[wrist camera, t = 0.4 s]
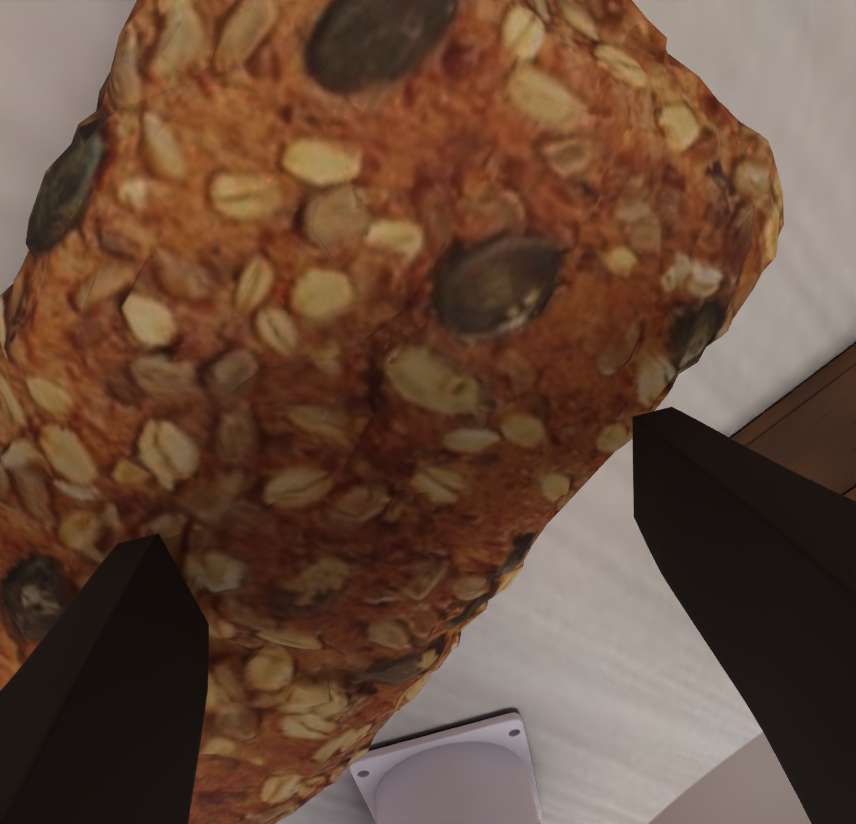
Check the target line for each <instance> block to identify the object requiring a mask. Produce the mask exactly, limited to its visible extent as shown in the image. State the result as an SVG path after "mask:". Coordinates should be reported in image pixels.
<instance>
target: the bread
mask: <svg viewBox="0 0 856 824" xmlns="http://www.w3.org/2000/svg"><path fill="white" fill-rule="evenodd" d="M666 41H667V38H666V37H665V36H664V35H663V34H662V33H661V32H660V31H659V30H658V29H657V28H656V27H655V26H654V25H653V24H652V23H651V22H650V21H649V20H648V19H647V18H646V17H645V16H644V15H643V13H642V12H641V11H640V10H639V9H638V7H637V6H636V5H635V4H634V2H633V1H632V0H137V2H136V4H135V6H134V8H133V10H132V12H131V13H130V15H129V17H128V19H127V21H126V23H125V25H124V27H123V29H122V31H121V33H120V36H119V40H118V44H117V48H116V52H115V56H114V60H113V64H112V68H111V71H110V73H109V75H108V77H107V79H106V81H105V83H104V84H103V86H102V88H101V90H100V92H99V98H98V104H97V110H96V112H95V113H93V114H92V115H91V116H89V117H88V118H86V119H85V120H84V121H82V122H81V123H80V124H78V127H77V129H76V132H75V135H74V138H73V141H72V144H71V145H70V146H69V147H68V148H67V149H66V150H65V151H64V153H63V154H62V155H61V156H60V157H59V158H58V159H57V160H56V161H55V162H54V163H53V164H52V165H51V166H50V167H49V168H48V170H47V171H46V173H45V176H44V178H43V181H42V184H41V187H40V190H39V192H38V195H37V198H36V201H35V204H34V206H33V209H32V212H31V215H30V218H29V223H28V231H27V238H26V244H27V246H28V249H29V252H28V254H27V256H26V258H25V261H24V263H23V265H22V267H21V269H20V271H19V273H18V275H17V277H16V278H15V279H14V283H13V284H12V285H11V286H10V287H9V288H8V289H7V290H6V291H5V292H4V293H3V294H1V295H0V691H1V690H2V689H3V687H4V686H5V685H6V684H7V683H8V681H9V680H10V679H11V678H12V677H13V675H14V674H15V673H16V672H17V671H18V670H19V668H20V667H21V666H22V665H23V663H24V662H25V661H26V659H27V658H28V657H29V656H30V654H31V653H32V652H33V651H34V649H35V648H36V647H37V645H38V644H39V643H40V642H41V640H42V639H43V638H44V637H45V635H46V634H47V633H48V631H49V630H50V629H51V628H52V626H53V625H54V624H55V622H56V621H57V620H58V619H59V617H60V616H61V615H62V614H63V612H64V611H65V610H66V608H67V607H68V606H69V604H70V603H71V602H72V600H73V599H74V598H75V597H76V595H77V594H78V593H79V591H80V590H81V589H82V587H83V586H84V585H85V584H86V582H87V581H88V580H89V578H90V577H91V576H92V574H93V573H94V572H95V571H96V569H97V568H98V567H99V566H100V564H101V563H102V562H103V560H104V559H105V558H106V557H107V556H108V554H109V553H110V552H111V551H112V550H113V548H114V547H115V546H116V545H117V544H118V543H122V542H126V541H130V540H134V539H138V538H142V537H146V536H150V535H154V534H158V533H159V535H160V537H161V538H162V540H163V542H164V544H165V546H166V547H167V549H168V551H169V553H170V555H171V556H172V558H173V560H174V562H175V564H176V566H177V567H178V569H179V571H180V573H181V575H182V576H183V578H184V580H185V582H186V584H187V585H188V587H189V589H190V591H191V593H192V595H193V596H194V598H195V600H196V602H197V604H198V605H199V607H200V609H201V611H202V613H203V614H204V616H205V618H206V620H207V622H208V623H209V671H208V693H207V700H206V708H205V715H204V722H203V729H202V736H201V742H200V749H199V756H198V762H197V769H196V775H195V782H194V789H193V795H192V802H191V808H190V815H189V822H188V824H275V823H277V822H278V821H280V820H281V819H283V818H285V817H287V816H288V815H290V814H292V813H293V812H295V811H296V810H297V809H298V808H300V807H301V806H302V805H304V804H305V803H306V802H307V801H309V800H310V799H311V798H313V797H314V796H315V795H317V794H318V793H319V792H320V791H322V790H323V789H324V788H325V787H326V786H328V785H330V784H333V783H335V782H336V780H337V779H338V777H339V776H340V774H341V773H342V771H343V770H344V769H345V768H347V767H348V766H349V765H350V764H351V763H352V762H353V761H354V760H356V759H357V758H359V757H360V756H362V755H363V754H365V753H366V752H368V750H369V748H370V745H371V743H372V740H373V738H374V736H375V734H376V733H377V731H378V730H379V729H380V728H381V727H382V726H383V725H384V724H385V723H386V722H387V720H388V719H389V718H390V717H391V716H392V715H393V714H394V712H395V711H398V710H400V708H401V707H402V706H403V705H405V704H406V703H407V702H409V701H410V700H411V699H413V698H414V696H415V695H416V694H417V693H418V692H419V691H420V689H421V688H422V687H423V685H424V684H425V683H426V681H427V680H428V677H429V674H430V673H431V672H433V671H435V670H437V669H438V668H439V667H440V666H441V665H442V663H443V662H444V660H445V659H446V658H447V656H448V655H449V653H450V652H451V650H452V649H454V648H456V647H458V646H459V641H460V636H461V630H462V629H464V628H465V627H466V626H467V625H468V624H469V623H470V622H471V621H472V620H473V619H474V618H475V617H477V616H478V615H479V614H480V613H482V612H483V611H484V610H485V609H486V607H487V603H488V600H489V599H491V598H492V597H493V596H495V595H496V594H498V593H499V592H501V591H502V590H504V589H505V588H507V587H508V586H510V584H511V583H512V582H513V580H514V579H515V577H516V576H517V574H518V573H519V572H520V570H521V569H522V567H523V562H524V559H525V557H526V555H527V554H528V552H529V550H530V548H531V546H532V544H533V543H534V542H535V540H536V539H537V537H538V536H539V534H540V533H541V532H542V530H543V529H544V527H545V526H546V525H547V523H548V522H549V521H550V520H551V519H552V518H553V517H554V516H555V515H556V514H557V513H558V512H559V511H560V510H561V509H562V508H563V506H564V505H565V504H566V503H567V502H568V501H569V500H570V499H571V498H572V497H573V496H574V495H575V494H576V493H577V491H578V490H579V489H580V488H581V487H582V486H583V485H584V484H585V483H586V482H587V481H588V480H589V479H590V478H591V476H592V475H593V474H594V473H595V472H596V471H597V470H598V469H599V468H600V467H601V466H602V465H603V464H604V463H605V462H606V461H607V460H608V458H609V457H610V456H611V455H612V454H613V453H614V452H615V451H616V450H618V449H619V448H621V447H622V446H624V445H625V444H626V443H627V442H628V441H630V440H631V439H632V438H633V429H632V417H633V416H637V415H641V414H645V413H649V412H653V411H655V410H656V408H657V407H658V406H659V405H660V403H661V402H662V401H663V399H664V398H665V397H666V396H667V394H668V393H669V391H670V390H671V388H672V387H673V384H674V382H675V380H676V378H677V376H678V374H679V373H681V372H683V371H684V370H686V369H687V368H689V367H691V366H692V365H694V364H695V363H697V362H698V361H699V359H700V357H701V355H702V353H703V351H704V350H705V348H706V346H708V345H709V344H711V343H712V342H714V341H716V340H717V339H719V338H720V337H721V336H722V335H723V334H725V333H726V332H727V331H728V329H729V327H730V324H731V322H732V320H733V318H734V317H735V315H736V314H737V312H738V311H739V309H740V308H741V306H742V305H743V303H744V302H745V300H746V299H747V297H748V296H749V294H750V293H751V292H752V290H753V289H754V287H755V285H756V283H757V281H758V279H759V277H760V275H761V274H762V272H763V270H764V269H765V268H766V267H767V266H768V265H769V264H770V263H771V261H772V260H773V259H774V258H775V257H776V252H777V239H778V236H779V233H780V231H781V229H782V227H783V225H784V219H783V192H782V188H781V184H780V180H779V176H778V172H777V168H776V164H775V160H774V157H773V153H772V150H771V148H770V145H769V142H768V140H766V139H765V138H764V137H763V136H761V135H760V134H759V133H757V132H755V131H754V130H752V129H750V128H749V127H747V126H745V125H744V124H742V123H741V122H740V121H739V120H737V119H736V118H735V117H734V116H733V115H732V114H731V113H730V112H729V110H728V109H727V108H726V107H725V106H724V105H723V104H721V103H720V102H719V101H718V100H717V99H716V98H715V96H714V95H713V94H712V92H711V91H710V90H709V89H708V87H707V86H706V85H705V84H704V82H703V81H702V80H701V79H700V77H699V76H697V75H696V74H695V73H693V72H692V71H691V70H689V69H688V68H687V67H685V66H684V65H683V64H681V63H680V62H679V61H677V60H676V59H675V58H673V57H672V56H671V55H669V54H668V53H667V51H666Z"/></svg>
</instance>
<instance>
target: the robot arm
mask: <svg viewBox="0 0 856 824" xmlns="http://www.w3.org/2000/svg"><path fill="white" fill-rule="evenodd" d="M632 429H633V489H634V518H635V520H636V522H637V525H638V527H639V529H640V531H641V533H642V535H643V537H644V539H645V541H646V544H647V546H648V548H649V550H650V552H651V554H652V556H653V558H654V560H655V562H656V564H657V566H658V568H659V570H660V572H661V574H662V575H663V577H664V578H665V580H666V582H667V583H668V585H669V586H670V588H671V589H672V591H673V592H674V594H675V596H676V597H677V599H678V600H679V602H680V603H681V605H682V606H683V608H684V609H685V611H686V612H687V614H688V616H689V617H690V619H691V620H692V622H693V623H694V625H695V626H696V628H697V629H698V631H699V632H700V634H701V635H702V637H703V638H704V640H705V641H706V643H707V644H708V646H709V647H710V649H711V650H712V652H713V653H714V655H715V656H716V658H717V660H718V661H719V663H720V664H721V666H722V667H723V669H724V670H725V672H726V673H727V675H728V676H729V678H730V679H731V681H732V682H733V684H734V685H735V687H736V688H737V690H738V691H739V693H740V694H741V696H742V697H743V699H744V700H745V702H746V704H747V705H748V707H749V709H750V710H751V712H752V714H753V715H754V717H755V719H756V720H757V722H758V724H759V725H760V727H761V729H762V730H763V732H764V734H765V736H766V737H767V739H768V741H769V743H770V745H771V747H772V749H773V751H774V753H775V754H776V756H777V758H778V760H779V762H780V764H781V766H782V768H783V769H784V771H785V773H786V775H787V777H788V779H789V781H790V783H791V785H792V786H793V788H794V790H795V792H796V794H797V795H798V798H799V799H800V802H801V803H802V805H803V808H804V809H805V811H806V813H807V815H808V817H809V819H810V821H811V823H812V824H856V501H854V500H852V499H850V498H848V497H845V496H843V495H841V494H839V493H836V492H834V491H832V490H830V489H828V488H826V487H824V486H822V485H820V484H818V483H816V482H814V481H812V480H809V479H807V478H805V477H803V476H801V475H799V474H797V473H795V472H793V471H791V470H790V469H788V468H786V467H784V466H782V465H780V464H778V463H776V462H774V461H772V460H770V459H768V458H766V457H764V456H763V455H761V454H759V453H757V452H755V451H753V450H751V449H749V448H748V447H746V446H744V445H742V444H740V443H738V442H736V441H735V440H733V439H731V438H729V437H727V436H725V435H724V434H722V433H720V432H718V431H716V430H714V429H713V428H711V427H709V426H707V425H705V424H703V423H701V422H700V421H698V420H696V419H694V418H692V417H690V416H688V415H686V414H685V413H683V412H681V411H679V410H677V409H675V408H673V407H669V408H665V409H661V410H657V411H653V412H649V413H645V414H641V415H637V416H633V417H632ZM208 671H209V623H208V622H207V620H206V618H205V616H204V614H203V613H202V611H201V609H200V607H199V605H198V604H197V602H196V600H195V598H194V596H193V595H192V593H191V591H190V589H189V587H188V585H187V584H186V582H185V580H184V578H183V576H182V575H181V573H180V571H179V569H178V567H177V566H176V564H175V562H174V560H173V558H172V556H171V555H170V553H169V551H168V549H167V547H166V546H165V544H164V542H163V540H162V538H161V537H160V535H159V533H158V534H154V535H150V536H146V537H142V538H138V539H134V540H130V541H126V542H122V543H118V544H117V545H116V546H115V547H114V548H113V550H112V551H111V552H110V553H109V554H108V556H107V557H106V558H105V559H104V560H103V562H102V563H101V564H100V566H99V567H98V568H97V569H96V571H95V572H94V573H93V574H92V576H91V577H90V578H89V580H88V581H87V582H86V584H85V585H84V586H83V587H82V589H81V590H80V591H79V593H78V594H77V595H76V597H75V598H74V599H73V600H72V602H71V603H70V604H69V606H68V607H67V608H66V610H65V611H64V612H63V614H62V615H61V616H60V617H59V619H58V620H57V621H56V622H55V624H54V625H53V626H52V628H51V629H50V630H49V631H48V633H47V634H46V635H45V637H44V638H43V639H42V640H41V642H40V643H39V644H38V645H37V647H36V648H35V649H34V651H33V652H32V653H31V654H30V656H29V657H28V658H27V659H26V661H25V662H24V663H23V665H22V666H21V667H20V668H19V670H18V671H17V672H16V673H15V674H14V675H13V677H12V678H11V679H10V680H9V681H8V683H7V684H6V685H5V686H4V687H3V689H2V690H1V691H0V824H188V822H189V815H190V808H191V802H192V795H193V789H194V782H195V775H196V769H197V762H198V756H199V749H200V742H201V736H202V729H203V722H204V715H205V708H206V700H207V693H208ZM349 768H350V772H351V774H352V776H353V778H354V780H355V782H356V784H357V786H358V788H359V790H360V792H361V794H362V796H363V798H364V800H365V802H366V804H367V806H368V808H369V810H370V812H371V814H372V816H373V818H374V820H375V822H376V824H540V819H541V818H542V815H543V814H542V809H541V804H540V799H539V795H538V790H537V785H536V780H535V776H534V771H533V766H532V762H531V757H530V752H529V747H528V743H527V738H526V733H525V728H524V724H523V720H522V717H521V715H520V714H518V713H508V714H504V715H500V716H497V717H493V718H489V719H485V720H482V721H478V722H474V723H471V724H467V725H463V726H460V727H456V728H452V729H449V730H445V731H441V732H438V733H434V734H430V735H427V736H423V737H419V738H415V739H412V740H408V741H404V742H401V743H397V744H393V745H390V746H386V747H382V748H379V749H375V750H371V751H368V752H366V753H365V754H363V755H362V756H360V757H359V758H357V759H356V760H354V761H353V762H352V763H351V764H350V765H349Z"/></svg>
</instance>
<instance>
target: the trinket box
mask: <svg viewBox="0 0 856 824" xmlns="http://www.w3.org/2000/svg"><path fill="white" fill-rule="evenodd" d="M731 439H733V440H735V441H736V442H738V443H740V444H742V445H744V446H746V447H748V448H749V449H751V450H753V451H755V452H757V453H759V454H761V455H763V456H764V457H766V458H768V459H770V460H772V461H774V462H776V463H778V464H780V465H782V466H784V467H786V468H788V469H790V470H791V471H793V472H795V473H797V474H799V475H801V476H803V477H805V478H807V479H809V480H812V481H814V482H816V483H818V484H820V485H822V486H824V487H826V488H828V489H830V490H832V491H834V492H836V493H839V494H841V495H845V494H846V493H848V492H849V491H851V490H852V489H853V488H855V487H856V344H855V345H853V346H852V347H851V348H850V349H848V350H847V351H846V352H844V353H843V354H842V355H840V356H839V357H838V358H836V359H835V360H834V361H832V362H831V363H830V364H828V365H827V366H826V367H824V368H823V369H822V370H820V371H819V372H818V373H817V374H815V375H814V376H813V377H811V378H810V379H809V380H807V381H806V382H805V383H803V384H802V385H801V386H799V387H798V388H797V389H795V390H794V391H793V392H791V393H790V394H789V395H788V396H786V397H785V398H784V399H782V400H781V401H780V402H778V403H777V404H776V405H774V406H773V407H772V408H770V409H769V410H768V411H766V412H765V413H764V414H762V415H761V416H760V417H758V418H757V419H756V420H755V421H753V422H752V423H751V424H749V425H748V426H747V427H745V428H744V429H743V430H741V431H740V432H739V433H737V434H736V435H735V436H733V437H732V438H731Z"/></svg>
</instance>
